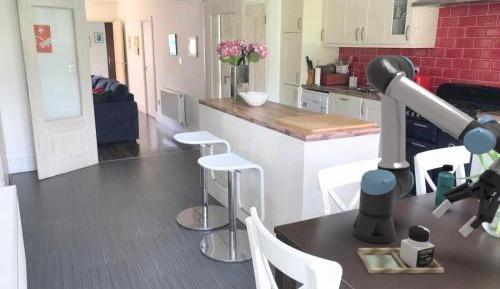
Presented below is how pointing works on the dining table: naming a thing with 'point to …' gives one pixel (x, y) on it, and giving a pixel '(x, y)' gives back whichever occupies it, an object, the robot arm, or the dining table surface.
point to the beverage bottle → (444, 184)
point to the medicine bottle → (417, 248)
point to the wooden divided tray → (390, 262)
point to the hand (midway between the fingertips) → (447, 224)
